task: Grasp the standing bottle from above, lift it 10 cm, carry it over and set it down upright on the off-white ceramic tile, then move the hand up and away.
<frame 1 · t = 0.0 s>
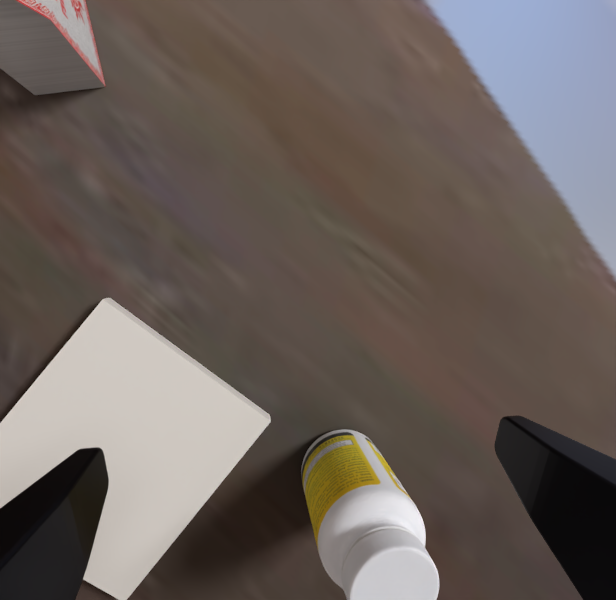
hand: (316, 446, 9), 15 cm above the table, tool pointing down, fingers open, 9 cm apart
milk carton: (56, 28, 21), on the table
supplement bottle: (339, 464, 25), on the table
ceramic tile: (119, 448, 23), on the table
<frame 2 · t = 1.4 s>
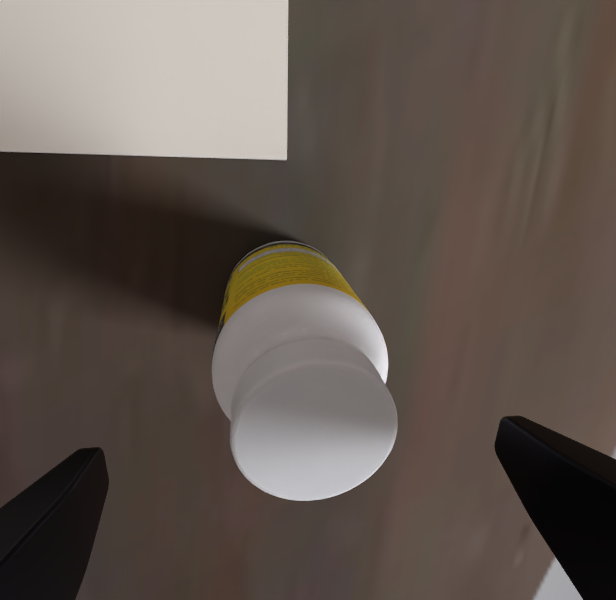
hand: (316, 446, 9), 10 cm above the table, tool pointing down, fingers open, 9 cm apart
supplement bottle: (283, 294, 18), on the table
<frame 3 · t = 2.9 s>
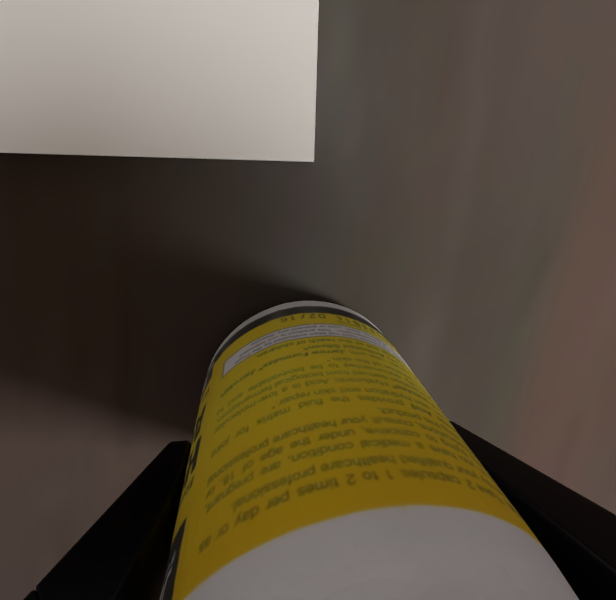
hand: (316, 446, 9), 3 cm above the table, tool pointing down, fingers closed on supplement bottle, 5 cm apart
supplement bottle: (300, 380, 11), on the table, touching gripper
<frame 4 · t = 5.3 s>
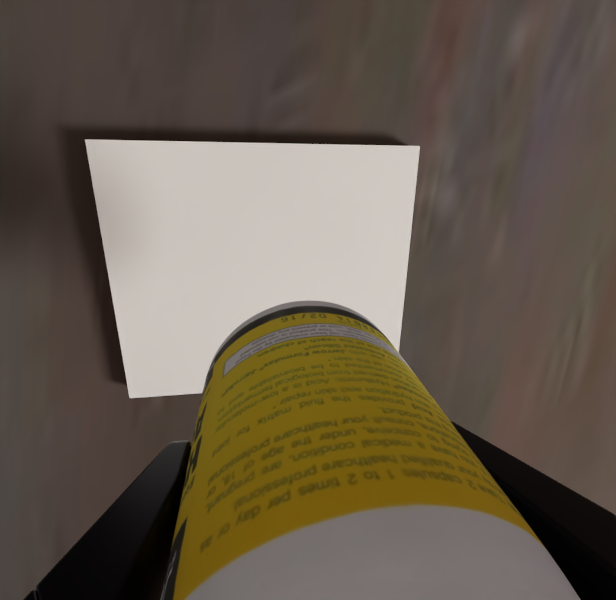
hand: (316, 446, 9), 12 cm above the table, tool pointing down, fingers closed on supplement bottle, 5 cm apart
supplement bottle: (301, 380, 11), point 9 cm above the table, touching gripper
ceramic tile: (265, 273, 19), on the table
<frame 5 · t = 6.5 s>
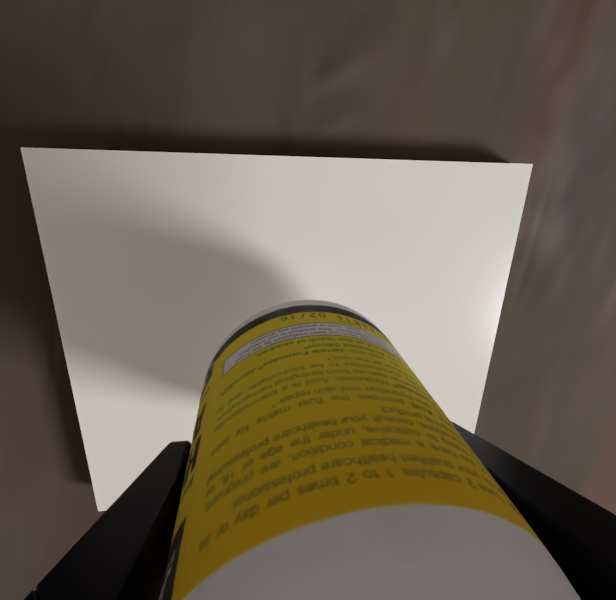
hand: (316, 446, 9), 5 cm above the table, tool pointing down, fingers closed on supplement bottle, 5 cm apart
supplement bottle: (300, 380, 11), point 3 cm above the table, touching gripper
ceramic tile: (293, 338, 13), on the table
when the fingers open (4 cm above the table, at t = 7.5 s): supplement bottle stays where it is, resting on ceramic tile.
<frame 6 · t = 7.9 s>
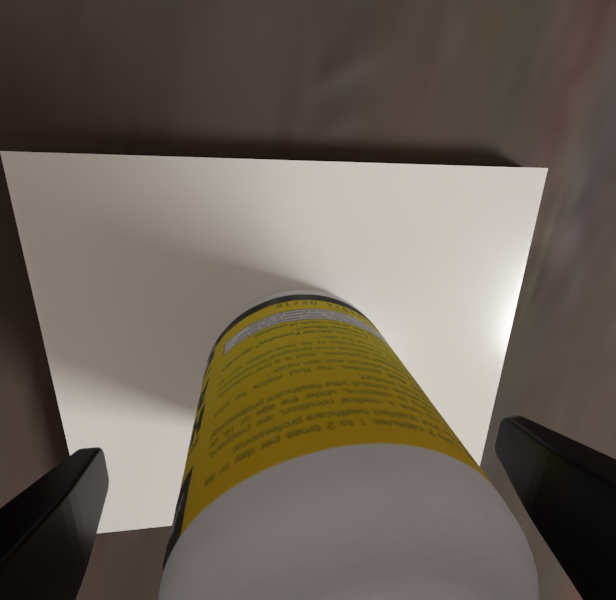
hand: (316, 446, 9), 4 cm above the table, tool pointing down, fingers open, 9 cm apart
supplement bottle: (295, 365, 12), point 1 cm above the table, touching ceramic tile
ceramic tile: (294, 351, 13), on the table
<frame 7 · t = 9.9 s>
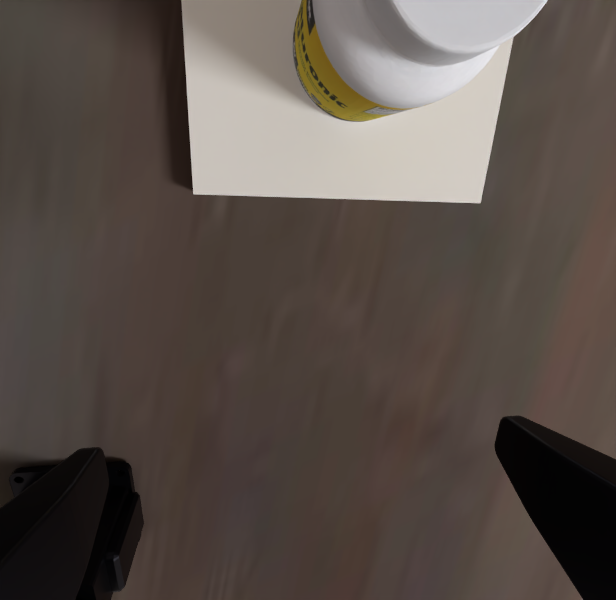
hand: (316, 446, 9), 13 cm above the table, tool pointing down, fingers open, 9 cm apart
supplement bottle: (352, 55, 16), point 1 cm above the table, touching ceramic tile
ceramic tile: (349, 58, 17), on the table
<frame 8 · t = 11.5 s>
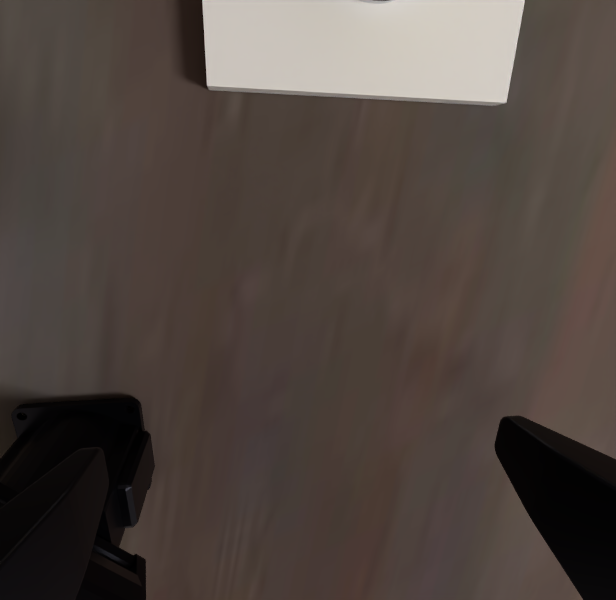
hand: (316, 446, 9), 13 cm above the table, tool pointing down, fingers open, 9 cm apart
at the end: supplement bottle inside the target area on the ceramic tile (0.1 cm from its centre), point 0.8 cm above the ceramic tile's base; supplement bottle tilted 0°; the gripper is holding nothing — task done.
